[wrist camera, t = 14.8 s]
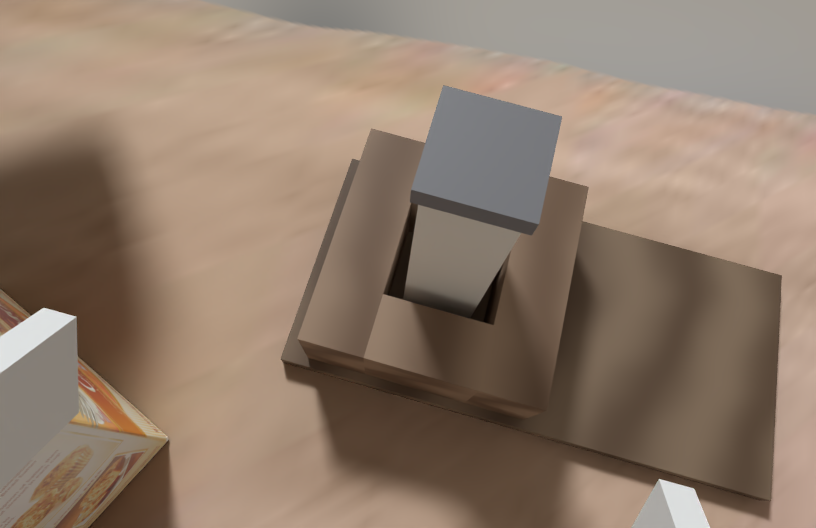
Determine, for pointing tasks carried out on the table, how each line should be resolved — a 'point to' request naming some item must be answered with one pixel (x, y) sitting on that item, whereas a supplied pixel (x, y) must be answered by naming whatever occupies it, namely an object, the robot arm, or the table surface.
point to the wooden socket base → (555, 332)
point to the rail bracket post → (475, 195)
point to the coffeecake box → (78, 454)
